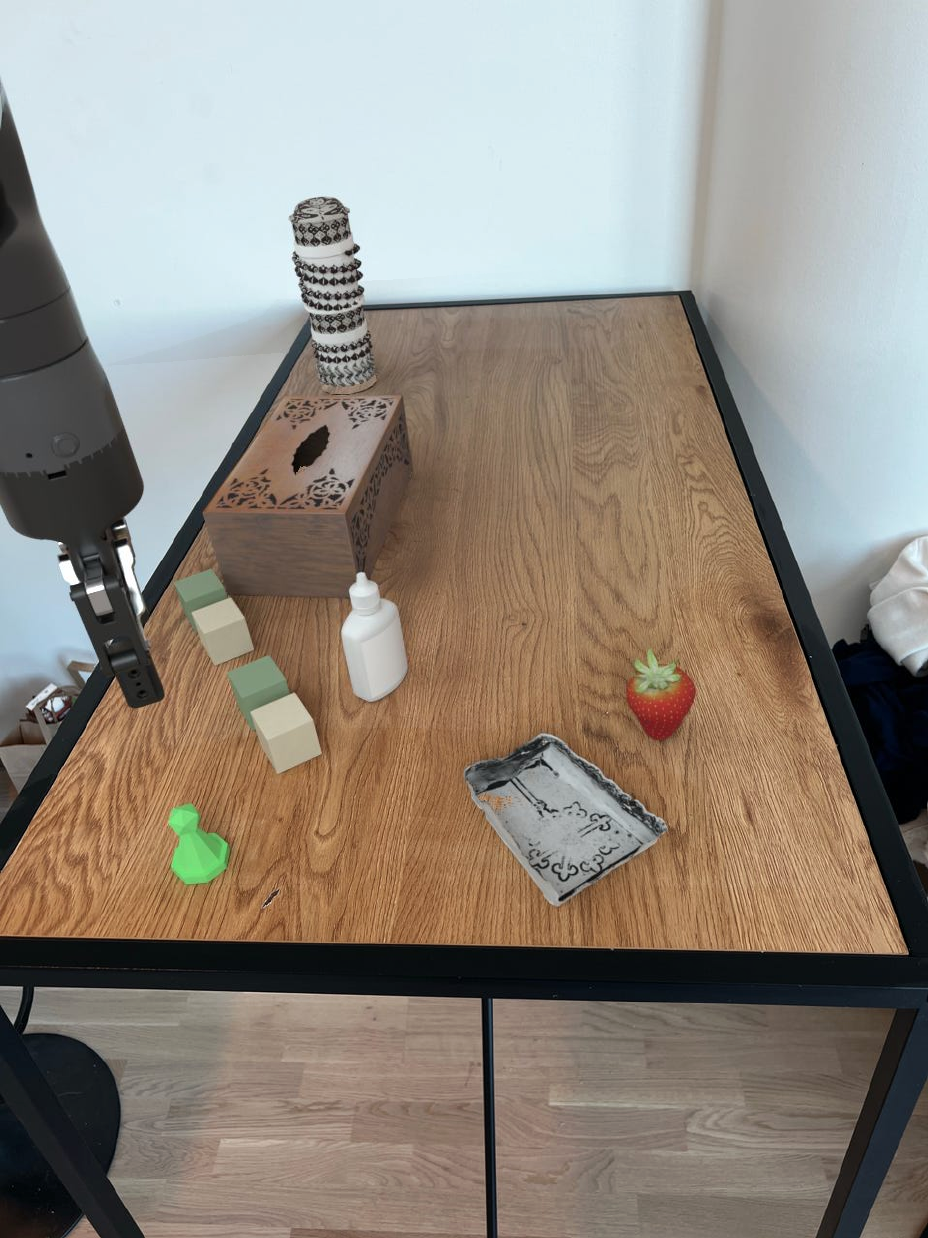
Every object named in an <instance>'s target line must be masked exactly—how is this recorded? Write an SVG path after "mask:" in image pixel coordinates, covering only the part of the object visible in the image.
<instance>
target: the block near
mask: <svg viewBox="0 0 928 1238" xmlns="http://www.w3.org/2000/svg"><path fill="white" fill-rule="evenodd" d="M250 713H251V716H252V719H253V723H254V726H255V729H256V730H255V732H256V736H257V738H258V742H259V744H260V747H261V748H262V750H263V752H264V754H265V756H266V757H267V759H268V760H269V762H270V764H271V765H272V767H273V769H274V771H275V773H276V774H277V775H279V774H282V773H283V772H286V771H288V770H290V769H293V768H294V767H296V766H299V765H301V764H303V763H305V762H307V761H309V760H313V759H314V758H315V757H318V756H320V755H322V754H323V752H322V748H321V744H320V741H319V737H318V733H317V729H316V724H315V722H314V719H313V718H312V716H311V714H310V713H309V711H308V710H307V708H306V706H304V704H303V702H302V700H300V698H299V697H298V695H297V694H296V692H292V693H290V695H288V696H285V697H283V698H281V699H278V700H276V701H274V702H271V703H269V704H267V705H264V706H262V707H260V708H257V709H255V710H253V711H251V712H250Z"/></svg>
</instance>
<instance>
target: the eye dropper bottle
mask: <svg viewBox="0 0 928 1238" xmlns="http://www.w3.org/2000/svg"><path fill="white" fill-rule="evenodd" d="M349 593H350V598H349V599H350V602H351V608H352V610H351V611H350V613H348V615H347V617H346V618H345V620H344V622H343V625H342V627H341V632H340V633H341V641H342V646H343V651H344V652H343V653H344V655H345V660H346V666H347V670H348V674H349V681H350V684H351V688H352V692H353V694H354V695H355V697H358V698H359V699H362V700H363V701H366V702H368V703H375V702H377V701H379V700H381V699H383V698H384V697H386V696H388V695H390V694H391V693H392V692H394V691H395V690H396V689H397V688H398V687H399V686H400V685H401V683H402V682H403V681H404V679H405V677H406V676H407V673H408V670H409V664H408V659H407V658H408V657H407V651H406V646H405V641H404V635H403V629H402V624H401V619H400V614H399V608H398V606H397V604H396V603H394V602H393V601H391V600H388V599H386V598H383V597H382V598H381V596H380V590H379V585H378V584H377V583H376V582H375V581H373V580H370V579H369V580H367V577H366V575H365V573H363V572H360V573H358V574H357V579H356V583H354V584H353V585H352V586H351V587H350V589H349Z"/></svg>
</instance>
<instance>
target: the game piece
mask: <svg viewBox="0 0 928 1238" xmlns="http://www.w3.org/2000/svg"><path fill="white" fill-rule="evenodd" d="M201 818H202V815H201V814H200V813H199V812H198V810H197V808H196V807H195V806H194V805H193V803H191V802H190V803H186V804H183V805H179V806H175V807H173V808H172V809H171V812H170V816H169V818H168V821H167V823H168V825H169V826H170V827H171V829H172V830H173V831H174V833H175V834H176V835H177V836H178V837H179V840H178V845H177V847H175V849H174V853H173V857H172V861H171V865H170V868H171V869H172V873H173V874H174V875H176V876H177V878H178V879H180V880H181V881H182V882H183V883H184V884H185V885H197V884H208V883H210V882H211V881H213V879H215V878H216V877H218V876H219V875H221V874H222V873H223V872H224V871H225V870H227V868H228V863H229V858H230V853H231V849H230V845H229V844H228V842H227V841H225V840H224V839H223V838H222V837H221V836H220V835H218V834H217V833H216V832H209V833H207V832H206V831H205V830H203V829H201V828H200V827H199V824H200V821H201Z"/></svg>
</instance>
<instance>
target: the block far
mask: <svg viewBox="0 0 928 1238" xmlns="http://www.w3.org/2000/svg"><path fill="white" fill-rule="evenodd" d="M173 585H174V588H175V591H176V594H177V596H178V599H179V602H180V605H181V608H182V611H183V614H184V615H185V618H186V620H187V621H188V622H189V624H190V626H191V627H192V630H193V631H194V633H195V634H198V631H197V628H196V625H195V622H194V619H193V616H192V612H193V611H196V610H199V609H201V608H204V607H207V606H209V605H212V604H214V603H217V602H220V601H222V600H225V599H227V598H229V597H228V595H227V592H226V588H225V585H224V583H222V581H221V580H220V578H219V576H218V575H217V574H216V572H215V571H214V569H213V568H212V567H211V568H209V569H206V570H203V571H200V572H197V573H195V574H193V575H190V576H187V577H184V578H181V579H178V580H176V581H173Z"/></svg>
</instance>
